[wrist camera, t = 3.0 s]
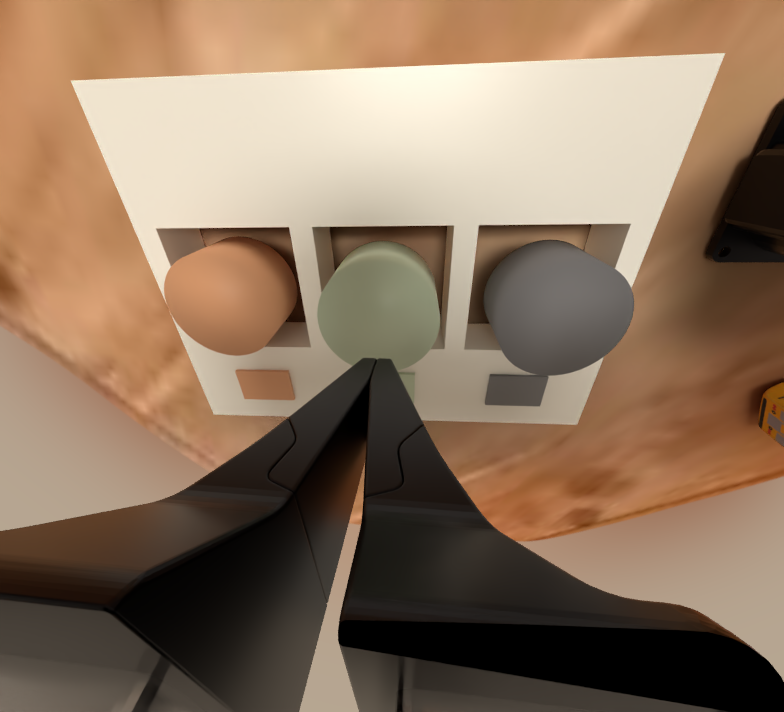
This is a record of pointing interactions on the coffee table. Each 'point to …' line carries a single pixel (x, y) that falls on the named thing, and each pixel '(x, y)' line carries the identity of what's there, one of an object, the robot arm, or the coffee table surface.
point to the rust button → (231, 295)
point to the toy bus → (773, 413)
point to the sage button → (380, 306)
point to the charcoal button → (556, 307)
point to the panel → (400, 194)
